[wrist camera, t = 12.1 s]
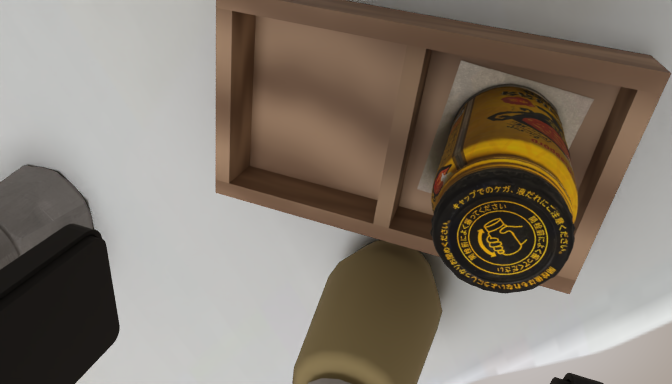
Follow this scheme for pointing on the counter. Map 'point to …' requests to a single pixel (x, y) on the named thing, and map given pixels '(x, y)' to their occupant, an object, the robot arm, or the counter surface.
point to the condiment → (504, 179)
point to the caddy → (397, 111)
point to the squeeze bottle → (372, 320)
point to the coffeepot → (36, 209)
